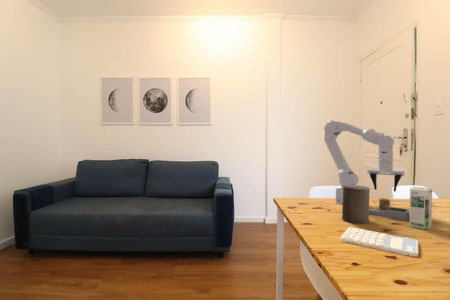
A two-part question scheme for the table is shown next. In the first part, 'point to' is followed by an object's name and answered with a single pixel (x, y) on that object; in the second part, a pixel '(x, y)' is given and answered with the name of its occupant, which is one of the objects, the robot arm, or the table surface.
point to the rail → (392, 213)
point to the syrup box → (420, 207)
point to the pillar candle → (355, 204)
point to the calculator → (381, 241)
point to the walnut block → (384, 203)
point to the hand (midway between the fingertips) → (384, 190)
